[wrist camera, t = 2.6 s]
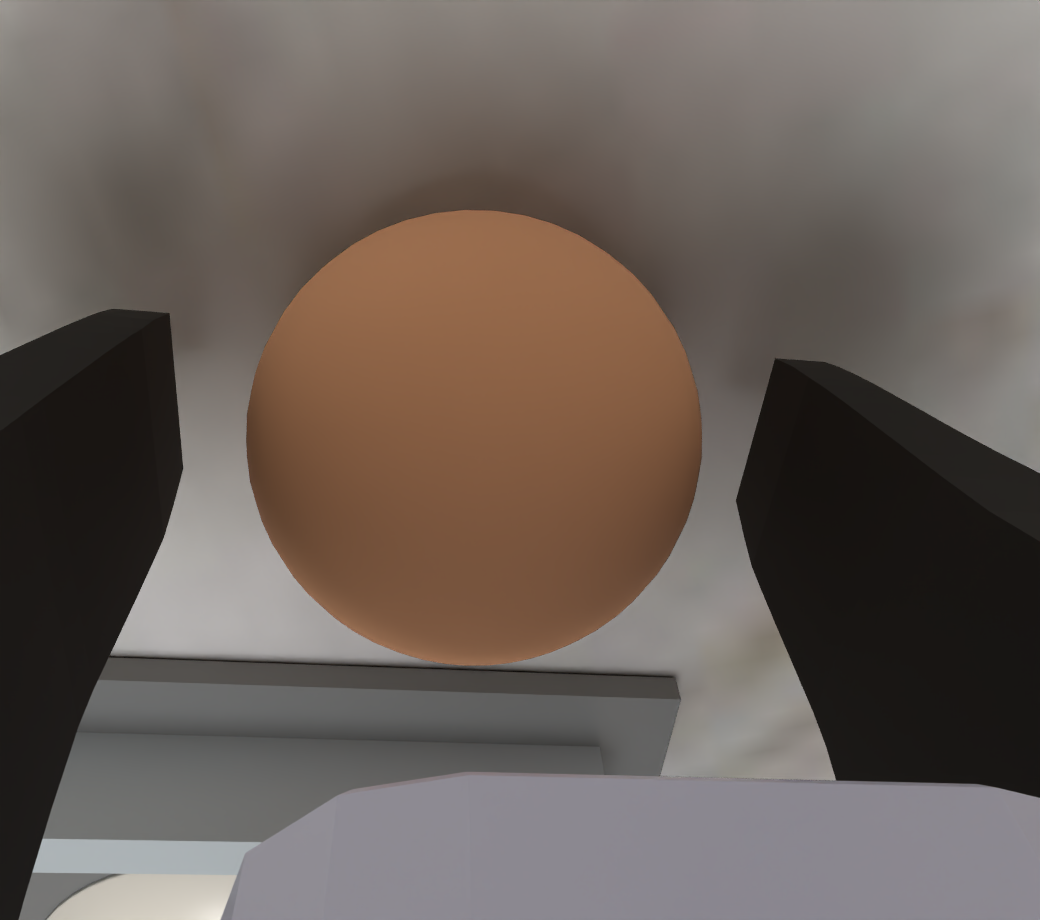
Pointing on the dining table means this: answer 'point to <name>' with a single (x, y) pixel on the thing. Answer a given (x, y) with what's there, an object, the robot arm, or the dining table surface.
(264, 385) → the rubber ball
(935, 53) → the dining table surface
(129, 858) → the corral
